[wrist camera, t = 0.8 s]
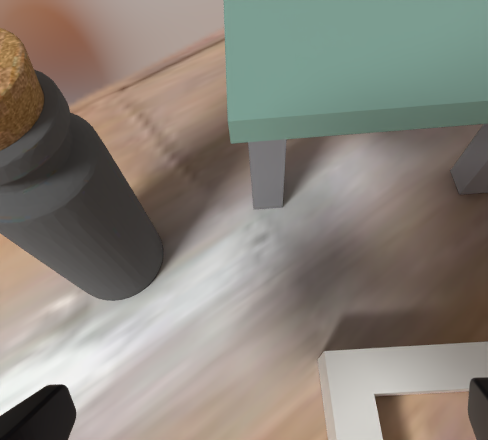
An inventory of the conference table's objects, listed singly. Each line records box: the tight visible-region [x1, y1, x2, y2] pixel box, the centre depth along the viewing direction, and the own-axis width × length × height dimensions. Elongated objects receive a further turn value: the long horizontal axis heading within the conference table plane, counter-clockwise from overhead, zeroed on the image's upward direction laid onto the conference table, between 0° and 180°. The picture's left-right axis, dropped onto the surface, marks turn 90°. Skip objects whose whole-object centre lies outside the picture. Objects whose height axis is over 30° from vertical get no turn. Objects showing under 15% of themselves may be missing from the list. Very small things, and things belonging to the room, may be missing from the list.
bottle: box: [0, 28, 163, 301], centre depth 18 cm, size 6×6×15 cm
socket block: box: [224, 0, 488, 440], centre depth 15 cm, size 22×17×14 cm
